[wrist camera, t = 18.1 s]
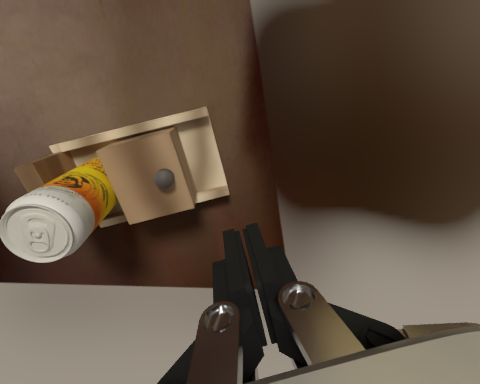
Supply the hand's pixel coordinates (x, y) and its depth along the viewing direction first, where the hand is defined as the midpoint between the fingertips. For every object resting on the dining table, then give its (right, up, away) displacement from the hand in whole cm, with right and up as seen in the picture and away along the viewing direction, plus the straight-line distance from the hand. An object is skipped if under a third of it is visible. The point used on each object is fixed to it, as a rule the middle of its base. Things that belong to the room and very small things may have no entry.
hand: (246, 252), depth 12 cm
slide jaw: (-11, +6, +22) cm, 25 cm away
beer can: (-18, +5, +22) cm, 29 cm away
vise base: (-13, +6, +23) cm, 27 cm away
